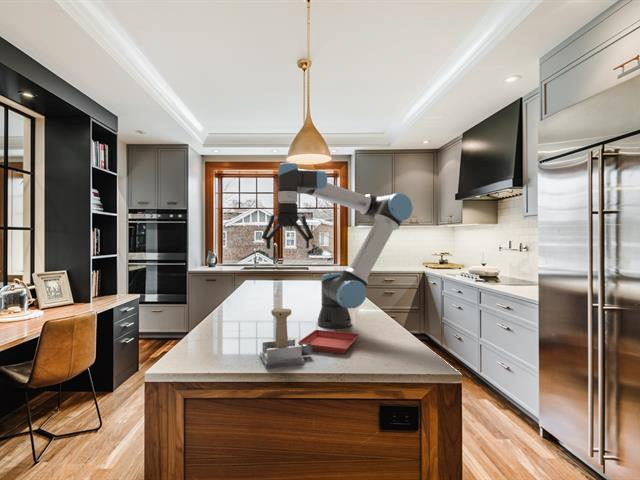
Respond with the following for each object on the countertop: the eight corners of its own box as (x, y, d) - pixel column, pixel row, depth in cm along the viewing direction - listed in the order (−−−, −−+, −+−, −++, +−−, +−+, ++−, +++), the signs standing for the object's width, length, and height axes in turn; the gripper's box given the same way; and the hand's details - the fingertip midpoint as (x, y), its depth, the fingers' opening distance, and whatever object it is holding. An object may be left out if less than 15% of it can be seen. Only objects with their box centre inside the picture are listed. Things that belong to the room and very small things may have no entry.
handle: (272, 353, 122) (272, 308, 122) (292, 353, 122) (291, 308, 122) (270, 358, 118) (270, 311, 117) (290, 358, 118) (290, 311, 117)
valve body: (305, 351, 129) (305, 336, 129) (316, 362, 118) (316, 346, 117) (260, 355, 124) (260, 340, 124) (266, 368, 112) (266, 351, 112)
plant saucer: (346, 357, 123) (346, 347, 123) (296, 351, 130) (296, 342, 130) (359, 342, 140) (359, 334, 140) (315, 337, 147) (315, 329, 146)
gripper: (257, 201, 137) (257, 258, 137) (321, 203, 145) (321, 257, 145) (254, 202, 144) (254, 257, 144) (315, 204, 152) (315, 256, 152)
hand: (287, 257), depth 145 cm, fingers open, 13 cm apart
